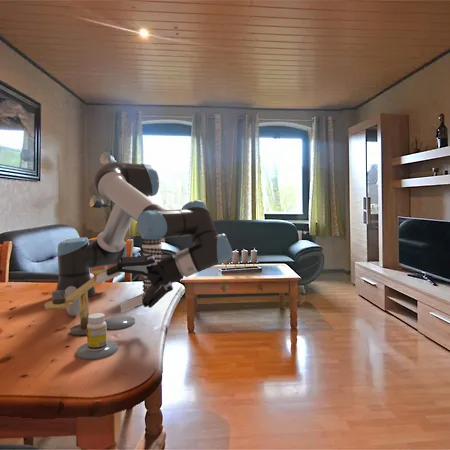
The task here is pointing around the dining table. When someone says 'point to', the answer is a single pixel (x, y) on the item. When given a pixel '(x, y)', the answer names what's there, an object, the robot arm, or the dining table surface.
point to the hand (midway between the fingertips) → (109, 294)
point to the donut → (75, 307)
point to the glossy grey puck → (119, 322)
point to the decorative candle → (147, 249)
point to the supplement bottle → (96, 332)
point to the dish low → (87, 354)
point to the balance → (81, 293)
